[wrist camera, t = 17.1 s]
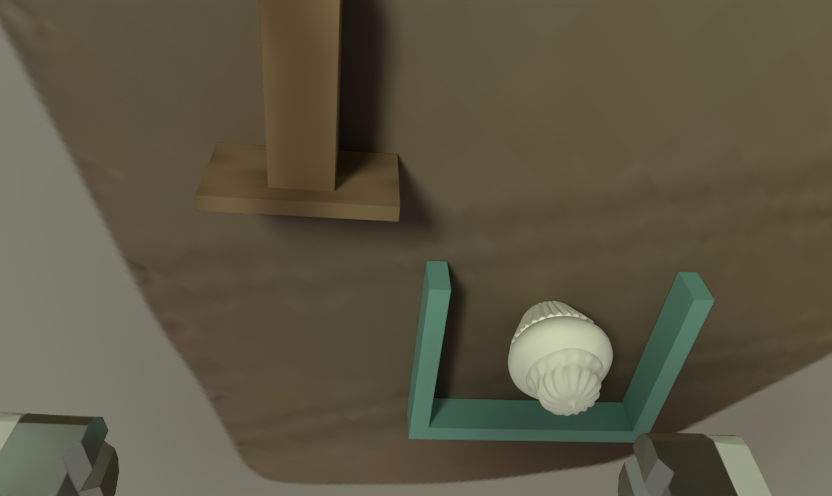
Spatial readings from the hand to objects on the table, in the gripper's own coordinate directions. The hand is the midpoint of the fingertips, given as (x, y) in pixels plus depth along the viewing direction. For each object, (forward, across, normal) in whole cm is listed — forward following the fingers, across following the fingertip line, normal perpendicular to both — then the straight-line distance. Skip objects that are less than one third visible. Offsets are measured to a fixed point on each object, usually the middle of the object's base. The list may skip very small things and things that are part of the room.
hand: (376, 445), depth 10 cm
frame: (+23, -11, +21) cm, 33 cm away
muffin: (+23, -11, +20) cm, 32 cm away
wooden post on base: (+23, +4, +3) cm, 24 cm away
